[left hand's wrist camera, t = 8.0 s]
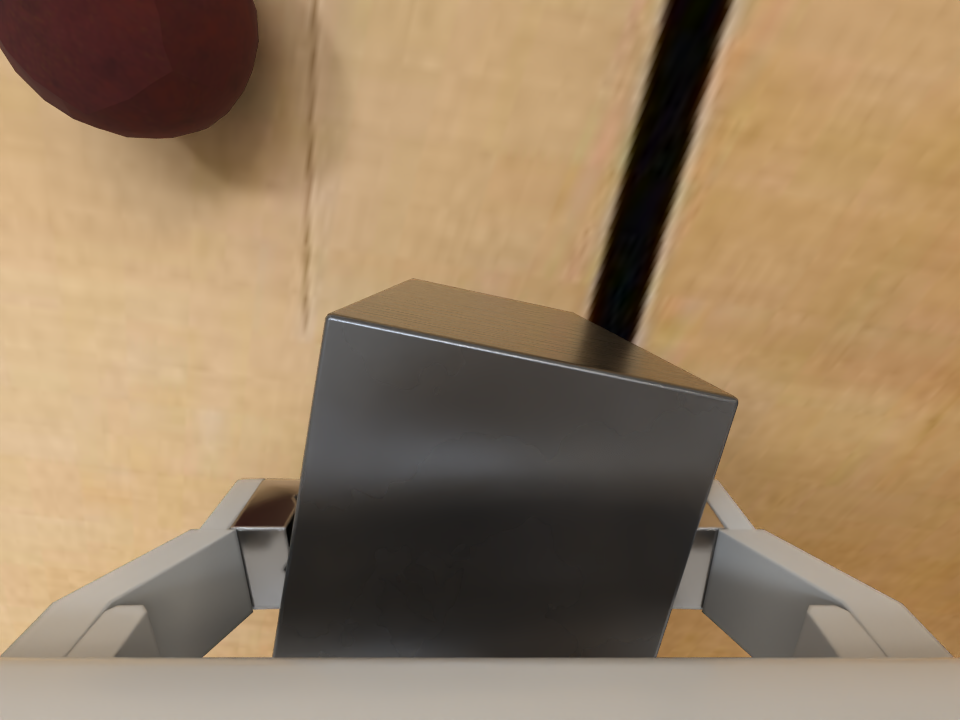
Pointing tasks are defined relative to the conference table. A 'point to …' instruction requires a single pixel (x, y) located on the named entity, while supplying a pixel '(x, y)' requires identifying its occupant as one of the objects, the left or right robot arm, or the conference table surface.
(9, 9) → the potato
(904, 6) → the conference table surface
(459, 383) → the box
